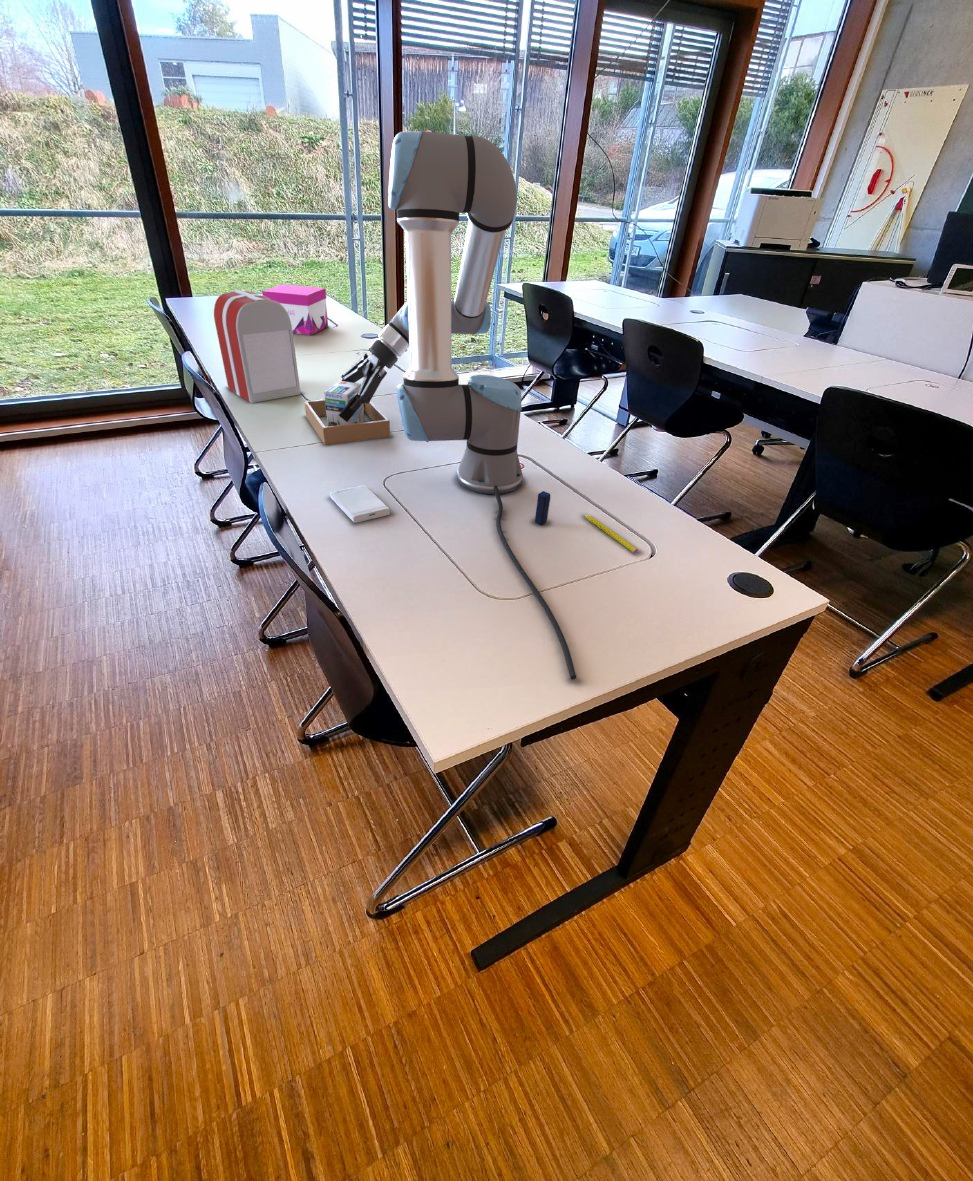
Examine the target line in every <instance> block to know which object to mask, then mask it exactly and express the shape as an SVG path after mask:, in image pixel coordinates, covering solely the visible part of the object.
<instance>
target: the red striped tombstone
mask: <svg viewBox="0 0 973 1181" xmlns="http://www.w3.org/2000/svg"><path fill="white" fill-rule="evenodd" d="M213 320H214V326H215V331H216V336H217V340H218V345H219V351H220V356H221V359H222V365H223V371H224V374H225V380H226V384H227V389H229V390H231V391H232V392H233V393H235V394H236V395H238V396H239V397H241V398H242V399H244V400H245V401H247V402H248V403H250V404H253V403H259V402H265V401H266V402H267V401H270V400H276V399H282V398H288V397H293V396H299V395H301V394H302V393H301V386H300V376H299V370H298V363H297V362H298V361H297V357H296V355H297V354H296V348H295V340H294V339H295V338H294V333H293V331H292V325H291V320H290V317H289V315H288V313H287V311H286V309H285V308H284V307H283V306H282V305H281V304H280V303H278V302H276V301H274V300H271V299H270V298H268V297H266V296H263V294H259V293H256V292H253V291H247V290H246V291H245V290H241V289H237V290H236V289H235V290H234V289H233V291H229V292H224V293H221V294H220V295H218V297H217V298H216V300H215V302H214V306H213Z"/></svg>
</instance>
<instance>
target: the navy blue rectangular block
mask: <svg viewBox="0 0 973 1181" xmlns="http://www.w3.org/2000/svg"><path fill="white" fill-rule="evenodd" d="M536 501H537V502H536V506H535V515H534V523H535V524H537V525H539V526H543V525H545V524H546V523H547V521H548V517H549V508H550V502H551V493H550V492H547V491H545V490H542V491H541V492H539V493H537V500H536Z"/></svg>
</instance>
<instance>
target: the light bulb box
mask: <svg viewBox="0 0 973 1181" xmlns="http://www.w3.org/2000/svg"><path fill="white" fill-rule="evenodd" d="M361 384H362V383H357V382H355V383H352V382H345V381H341V380H339V381H337V382H336V383H335V384H332V386H331V387H329V388H327V389H326V390H324V391H323V395H324V399H325V404H326V413H327V416H326V421H327V422H326V423H327V426H336V425H345V424H354V423H363V422H366V421H365V412H364V406H363V404H362V405H361V406H360V407H359V409H358V410H357V411H356V412H355V413H354V415H353V416H352V417H351V418H350V419H349V421H348V422H346V421H345V420H344V419H342V418H341V417H340V416H339V414H340V412H341V411H342V410H343V409H344V408H345V406H346V405H347V404H348V403H349V402H350V400H351V399H352V398H353V397H354V394H358V391H359V389H360V387H361ZM356 398H357V397H356Z"/></svg>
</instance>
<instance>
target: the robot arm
mask: <svg viewBox="0 0 973 1181" xmlns="http://www.w3.org/2000/svg"><path fill="white" fill-rule="evenodd" d="M393 138H394V139H393V141H392V147H391V155H390V165H389V177H388V178H389V179H388V202H387V204H388V208H389V209H390V210H392V211H396V221H397V224H398V225H399V226H400V227H401V228H402V230H404V233H405V249H406V250H405V252H406V254H405V255H406V278H407V280H406V281H407V282H406V283H407V299H406V300H405V302H404V304H403V305H402V306H401V307H400V308H399V310H398V311H397V313H395V315H394V316H393V318H391V320H390V321H389V322H388V324H386V325H385V326H384V327H383V329H382V330H381V332H379V334H378V338H376V339H374V341H373V342H372V343H371V344H370V345H369V346H368V351H369V352H370V353H371V354H370V355H368V354H367V353H366V352H365V353H364V354H363V355H362V356H361V357H360V358H359V359H358V360H357V361H356V362H355V363H353V364H352V365H351V366H349V368H348V369H347V370H345V372H343V373H342V374H341V375H340V378H341V380H340V381H345V382H352V383H357V382H358V381H360V380H362V382H361V383H360V384H361V387H360V389H359V391H358V394H354V397H353V398H352V399H351V400H350V402H349V403H348V404H347V405H346V406H345V408H344V409H343V410H342V411H341V412H340V414H339V416H340V417H341V418H342V419H344V420H345V421H346V422H348V421H349V419H350V418H351V417H352V416H353V415H354V413H355V412H356V411H357V410H358V409H359V407H360V406H361V405H362V404H363V403H367V404H368V403H369V402H370V401H371V402H372V398H373V397H374V395H375V393H376V392H377V389H378V388H379V387H380V385H381V382H382V381H383V379H384V378H385V377H386V376H387V374H388V372H387V370H386V369H385V367H386V368H387V369H388V370H391V369H392V368H393V367H394V366H395V364H396V363H397V362H398V359H399V358H398V357H402V355H403V354H404V353H406V352H407V351H408V348H409V368H408V369H407V370H406V372H405V373H404V374H403V375H402V376H403V383H399V384H398V385H397V386H396V392H397V394H396V395H397V401H398V408H399V413H400V419H401V423H402V427H403V431H404V432H403V433H404V435H405V437H406V438H407V439H408V440H410V441H413V442H426V443H429V442H443V441H444V442H446V441H449V442H450V441H466V446H465V450H464V453H463V456H462V458H461V460H460V464H459V466H458V468H457V482H458V483H459V485H460V486H462V487H463V488H464V489H466V490H468V491H471V492H475V493H477V494H483V495H484V494H485V495H495V499H496V502H497V506H498V511H497V512H498V513H497V515H496V521H495V522H496V524H495V525H496V531H497V534H498V535H499V538H500V540H501V542H502V545H503V547H504V549H505V551H506V553H507V555H508V556H509V558H510V560H511V561H512V563H513V565H514V566H515V568H516V569H517V571H518V572H519V574H520V575H521V577H522V578H523V579H524V581H525V583H526V584H527V585H528V587H529V589H530V590H531V591H532V593H533V595H534V596H535V597H536V599H537V601H538V602H539V604H540V606H541V607H542V608H543V611H544V612H545V614H546V616H547V618H548V619H549V621H550V623H551V626H552V627H553V629H554V631H555V633H556V636H557V638H558V641H559V643H560V646H561V650H562V652H563V656H564V660H565V664H566V667H567V671H568V675H569V677H570V680H572V681H574V680H576V679H577V673H576V669H575V666H574V662H573V659H572V654H571V652H570V648H569V646H568V643H567V641H566V638H565V636H564V633H563V630H562V629H561V627H560V625H559V623H558V621H557V618H556V617H555V615H554V613H553V612H552V610H551V608H550V607H549V605H548V603H547V601H546V600H545V598H544V597H543V596H542V594H541V593H540V591H539V589H538V588H537V587H536V585H535V583H534V581H533V580H532V579H531V578H530V576H529V575H528V574H527V572H526V571H525V569H524V568H523V566H522V564H521V563H520V562H519V560H518V559H517V556H516V555H515V554H514V552H513V550H512V549H511V547H510V545H509V543H508V540H507V539H506V536H505V534H504V531H503V528H502V517H503V512H504V511H503V510H504V506H503V501H502V498H501V495H502V494H504V495H505V494H507V493H511V492H514V491H516V490H518V489H520V488H521V486H522V483H523V470H522V466H521V462H520V458H519V454H518V442H519V433H520V422H521V411H522V410H523V407H522V391H521V388H520V387H519V386H518V385H517V384H516V383H515V382H513V381H512V380H508V379H506V378H502V377H499V376H495V375H489V374H476V375H471V376H470V377H469V378H468V380H467V384H461V383H460V377H459V374H458V373H457V372H456V371H455V370H454V369H453V367H452V334H453V335H472V336H475V335H481V334H488V332H490V329H491V322H492V310H491V309H492V308H491V305H490V303H489V302H488V301H487V300H488V297H489V292H490V289H491V285H492V283H493V282H492V281H493V277H494V274H495V270H496V267H497V264H498V263H497V262H498V259H499V255H500V251H501V247H502V243H503V239H504V236H505V232H506V231H507V230H508V229H509V228H510V227H511V226H512V224H513V221H514V218H515V214H516V210H517V201H518V197H517V196H518V195H517V185H516V179H515V176H514V174H513V171H512V168H511V166H510V164H509V162H508V160H507V157H506V156H505V155H504V154H503V152H502V151H501V149H500V148H498V147H497V146H496V145H495V144H494V143H493V142H491V141H490V140H489V139H487V138H484V137H482V136H478V135H464V134H463V135H461V134H455V133H454V134H453V133H444V132H433V131H424V130H416V131H400V132H398V133H397V134H396V135H395V137H393ZM460 214H466V216H467V219H468V224H467V229H466V235H465V241H464V246H463V251H462V257H461V263H460V268H459V274H458V280H457V285H456V289H455V291H456V292H455V295H454V300H452V234H453V232H455V229H457V227H458V226H459V225H460ZM356 397H357V398H356Z"/></svg>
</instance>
